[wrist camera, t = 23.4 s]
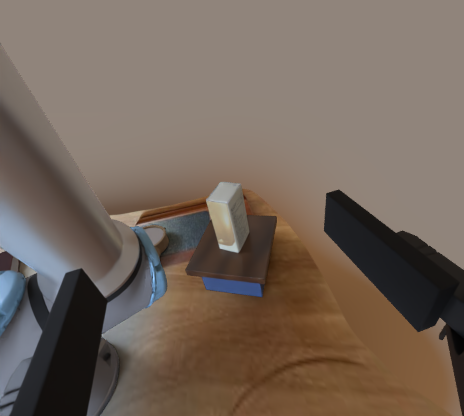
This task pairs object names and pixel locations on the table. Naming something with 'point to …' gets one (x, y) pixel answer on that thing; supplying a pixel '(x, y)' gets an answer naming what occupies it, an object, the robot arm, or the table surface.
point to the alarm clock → (157, 237)
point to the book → (8, 262)
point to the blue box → (234, 286)
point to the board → (236, 254)
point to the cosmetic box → (228, 216)
